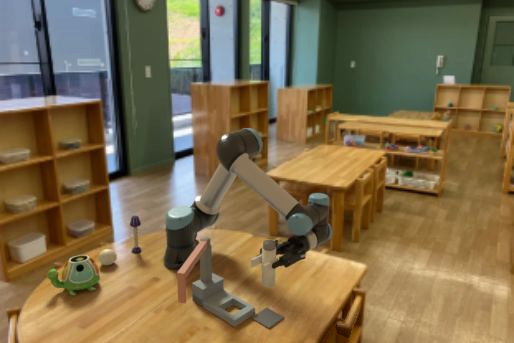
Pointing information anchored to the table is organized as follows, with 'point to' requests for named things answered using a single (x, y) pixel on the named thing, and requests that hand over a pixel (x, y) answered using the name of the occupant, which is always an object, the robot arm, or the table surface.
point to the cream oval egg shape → (107, 257)
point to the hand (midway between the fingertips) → (257, 266)
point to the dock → (217, 293)
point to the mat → (267, 317)
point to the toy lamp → (135, 233)
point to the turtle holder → (76, 274)
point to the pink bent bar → (190, 267)
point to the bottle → (267, 256)
